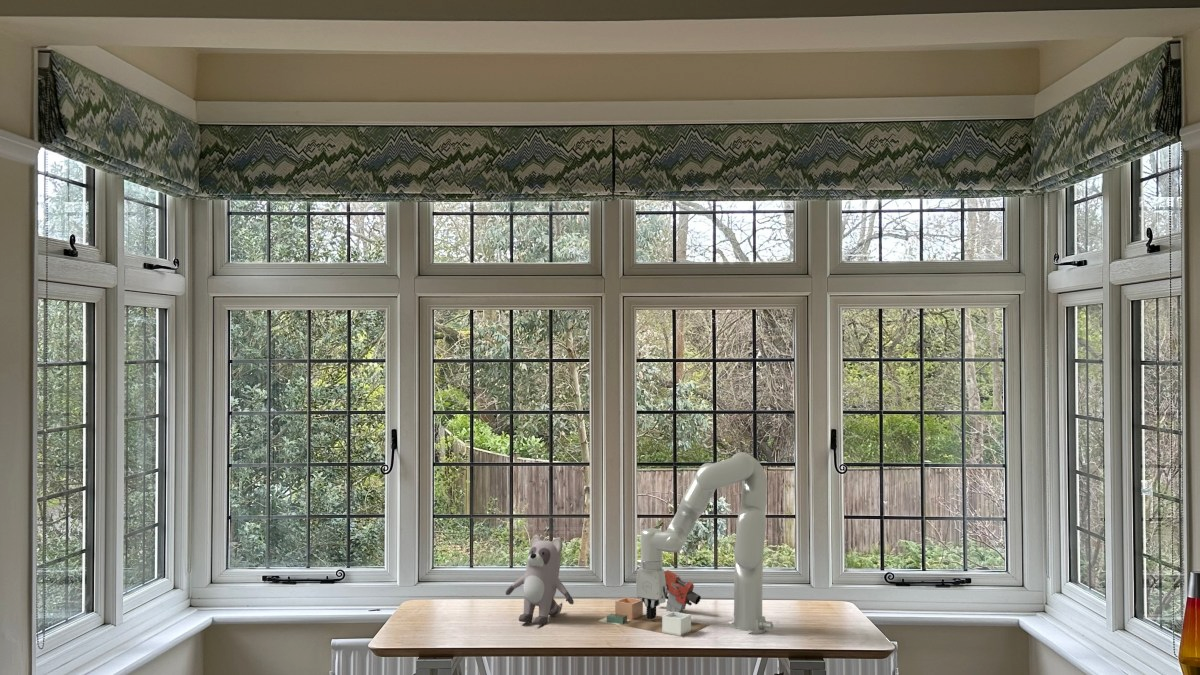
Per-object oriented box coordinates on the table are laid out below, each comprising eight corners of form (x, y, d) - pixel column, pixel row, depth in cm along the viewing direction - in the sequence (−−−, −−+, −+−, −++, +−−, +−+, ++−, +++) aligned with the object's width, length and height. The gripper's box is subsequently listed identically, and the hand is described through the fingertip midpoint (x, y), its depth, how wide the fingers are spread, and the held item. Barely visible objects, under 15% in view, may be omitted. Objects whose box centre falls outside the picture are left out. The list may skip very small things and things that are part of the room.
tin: (627, 621, 328) (627, 615, 328) (622, 623, 324) (622, 618, 324) (611, 619, 330) (611, 613, 330) (606, 621, 326) (606, 616, 327)
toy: (514, 632, 317) (514, 545, 317) (504, 615, 338) (504, 534, 338) (574, 627, 323) (574, 542, 323) (560, 611, 343) (560, 530, 343)
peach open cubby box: (642, 615, 335) (642, 600, 335) (632, 620, 329) (632, 604, 329) (626, 612, 339) (626, 597, 339) (615, 617, 333) (615, 601, 333)
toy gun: (686, 627, 336) (698, 589, 334) (642, 600, 348) (653, 563, 346) (692, 625, 339) (704, 587, 337) (648, 598, 351) (659, 561, 349)
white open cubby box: (691, 631, 316) (691, 614, 316) (680, 636, 310) (680, 619, 310) (672, 627, 320) (672, 611, 320) (662, 632, 314) (662, 615, 314)
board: (709, 628, 324) (709, 625, 324) (683, 641, 309) (683, 637, 309) (625, 613, 343) (625, 609, 343) (597, 624, 328) (597, 620, 328)
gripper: (627, 564, 331) (627, 617, 330) (664, 569, 322) (664, 624, 321) (639, 560, 337) (638, 612, 336) (675, 565, 328) (675, 619, 328)
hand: (651, 618), depth 329 cm, fingers closed
